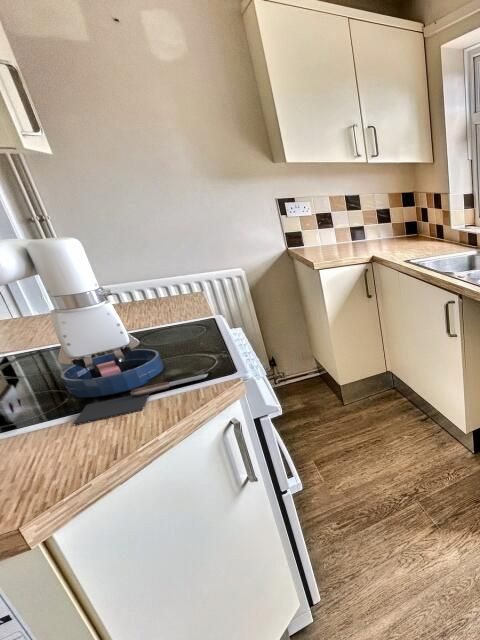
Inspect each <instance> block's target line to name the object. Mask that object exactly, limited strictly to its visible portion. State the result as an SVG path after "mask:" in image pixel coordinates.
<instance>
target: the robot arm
mask: <svg viewBox="0 0 480 640" xmlns="http://www.w3.org/2000/svg"><path fill="white" fill-rule="evenodd" d="M34 276H38V277H39V279H40V280H41V283H42V285H43V287H44V289H45V291H46V294H47V296H48V297H49V300H50V302H51V304H52V306H53V309H51V310H50V311H49V313H50V318H51V322H52V326H53V329H54V332H55V335H56V336H57V339H58V343H59V344H60V349H59V351H58V352H59V353H58V355H57V359H56V361H57V363H58V364H61V365H72V366H73V365H77V366H80V367H83V368H86V369H88V370H89V371H90V373H91V375H92V377H91V379H92V378H99V377H102V376H101V373H100V370H99V368H98V367H97V365H95V363H93V361H92V358H93V357H92V355H96V354H100V353H104V352H109V351H111V353H114V355H115V361H114V362H115V364H116V365H117V366H118V367H119V369H120V371H121V373H122V372H125V371H128V370H129V369H128V366H126V364H125V362H124V360H125V358H126V357H127V355H128V354H129V352H130V351H131V350H135V348H137V347H138V346H139V345H140V344H141V341H140V340H138V339H137V338H136V337H134V336H133V335H132V334H131V333H129V332H128V331H127V330H126V328H125V326H124V322H122V319H121V318H120V315H119V314H118V312H117V310H116V309H115V306H114V305H113V304H112V302H111V301H110V300H107V297H111V296H113V293H112V291H111V288H108V289H103V288H101V287H100V286H99V282H98V281H97V278H96V275H95V273H94V271H93V268H92V265H91V263H90V261H89V259H88V256H87V253H86V250H85V248H84V246H83V244H82V243H81V241H80V240H79V239H77V238H75V237H71V236H58V237H57V236H56V237H46V238H40V239H39V238H38V239H34V238H33V239H31V238H4V239H0V287H1V286H5V285H8V284H9V285H10V284H12V283H15V282H18V281H22V280H24V279H25V280H26V279H28V278H31V277H34Z"/></svg>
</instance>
